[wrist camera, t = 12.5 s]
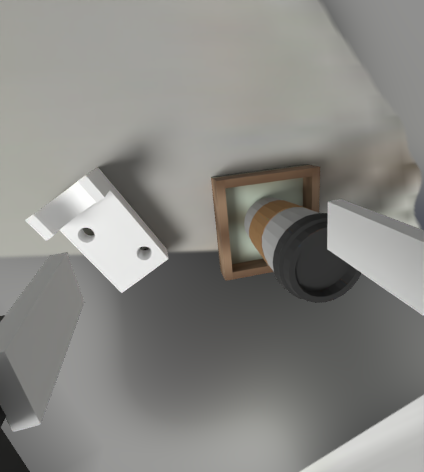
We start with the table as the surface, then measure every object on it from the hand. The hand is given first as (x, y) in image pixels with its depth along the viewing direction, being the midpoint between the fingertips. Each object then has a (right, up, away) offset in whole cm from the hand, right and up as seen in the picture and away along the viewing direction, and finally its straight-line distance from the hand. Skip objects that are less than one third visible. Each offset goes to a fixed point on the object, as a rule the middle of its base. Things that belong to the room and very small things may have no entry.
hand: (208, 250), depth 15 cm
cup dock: (+7, +3, +26) cm, 27 cm away
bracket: (-12, +2, +22) cm, 26 cm away
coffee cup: (+7, +3, +25) cm, 26 cm away
